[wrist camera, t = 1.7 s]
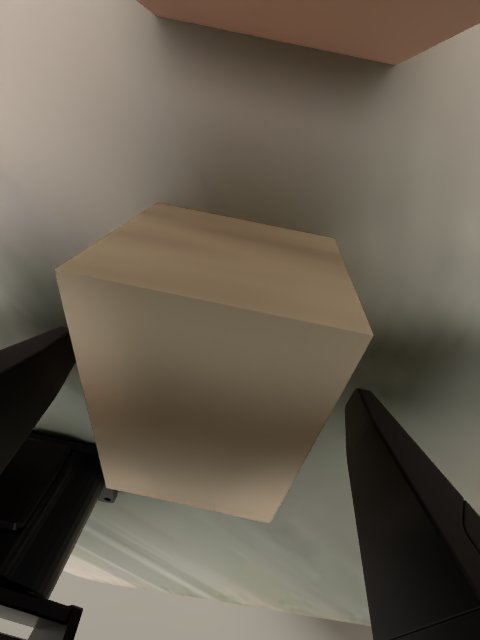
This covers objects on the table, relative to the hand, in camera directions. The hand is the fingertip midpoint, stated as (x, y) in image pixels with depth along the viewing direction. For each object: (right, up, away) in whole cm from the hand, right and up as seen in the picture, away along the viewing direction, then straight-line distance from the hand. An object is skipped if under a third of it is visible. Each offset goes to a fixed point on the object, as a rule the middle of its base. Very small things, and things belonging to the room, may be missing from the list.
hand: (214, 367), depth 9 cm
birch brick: (0, +1, +2) cm, 2 cm away
